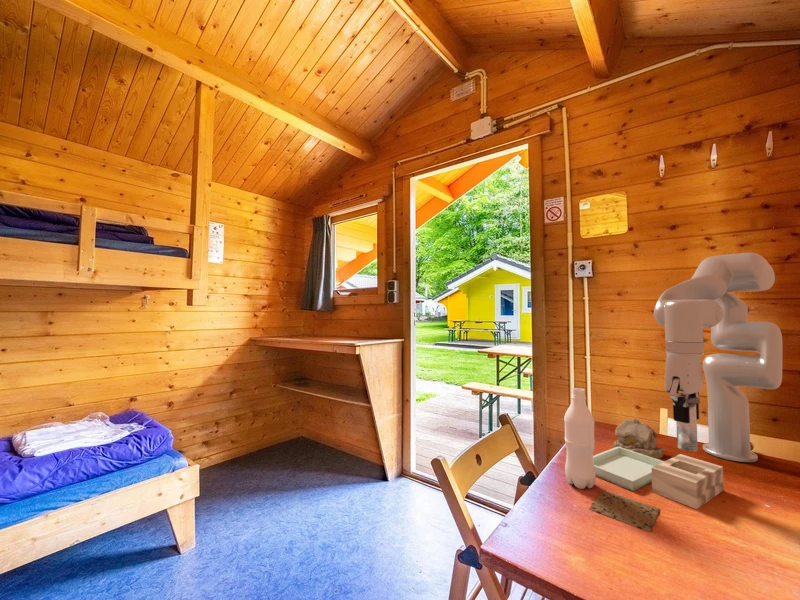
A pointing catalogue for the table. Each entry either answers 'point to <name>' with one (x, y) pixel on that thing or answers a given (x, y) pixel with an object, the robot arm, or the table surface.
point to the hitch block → (687, 480)
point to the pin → (688, 428)
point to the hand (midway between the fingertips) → (686, 419)
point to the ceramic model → (638, 438)
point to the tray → (625, 467)
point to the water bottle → (579, 442)
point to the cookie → (626, 510)
